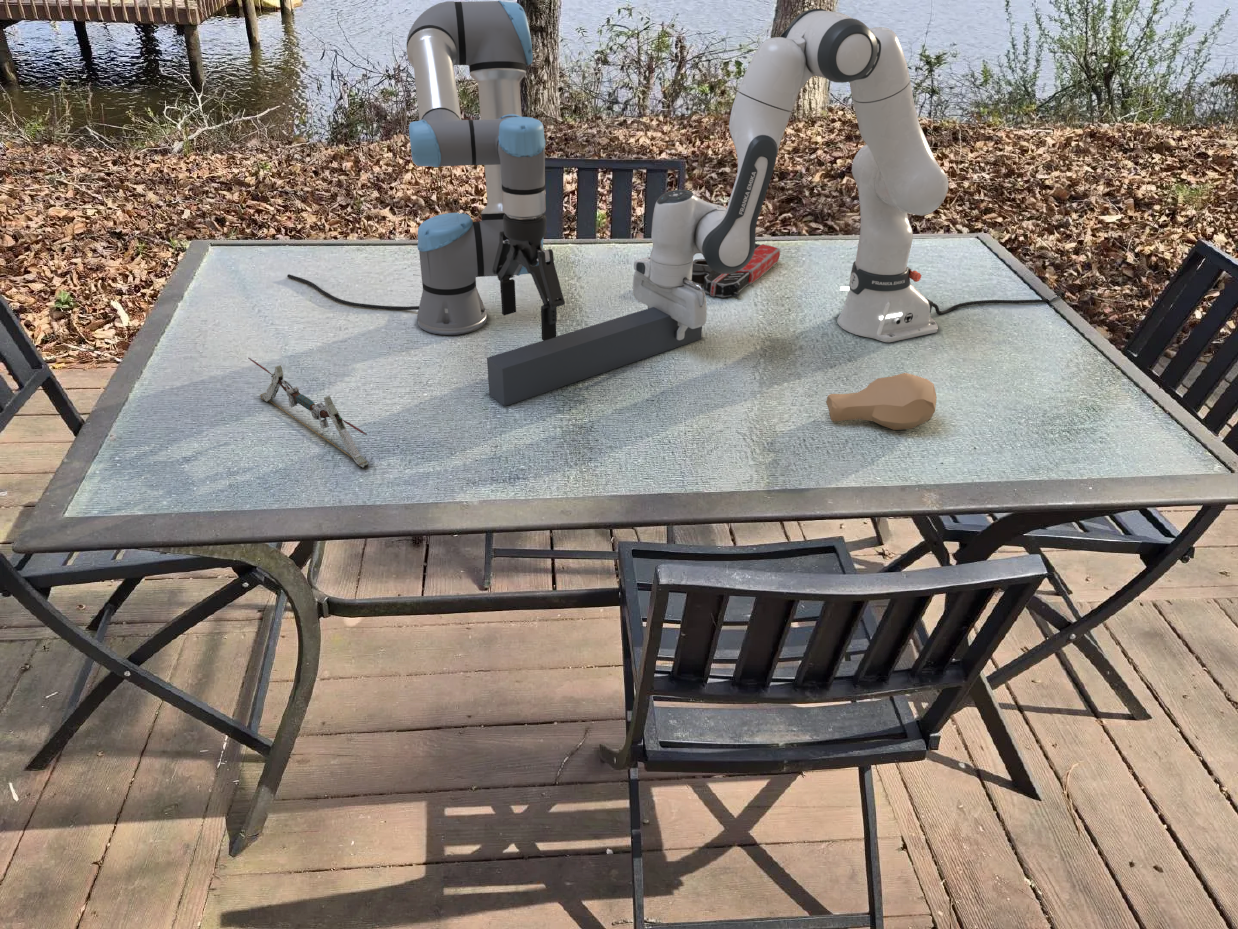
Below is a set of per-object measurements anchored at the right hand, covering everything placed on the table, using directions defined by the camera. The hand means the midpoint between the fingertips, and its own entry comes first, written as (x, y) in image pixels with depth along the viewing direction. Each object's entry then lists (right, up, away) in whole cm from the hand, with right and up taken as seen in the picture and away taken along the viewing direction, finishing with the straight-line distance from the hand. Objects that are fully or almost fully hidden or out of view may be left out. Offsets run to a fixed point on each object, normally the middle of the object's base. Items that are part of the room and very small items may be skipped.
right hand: (667, 332), depth 189 cm
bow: (-65, -23, -32) cm, 76 cm away
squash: (+39, -20, -24) cm, 50 cm away
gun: (+17, +20, +36) cm, 45 cm away
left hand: (-27, -2, -25) cm, 37 cm away
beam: (-14, -8, -8) cm, 18 cm away
